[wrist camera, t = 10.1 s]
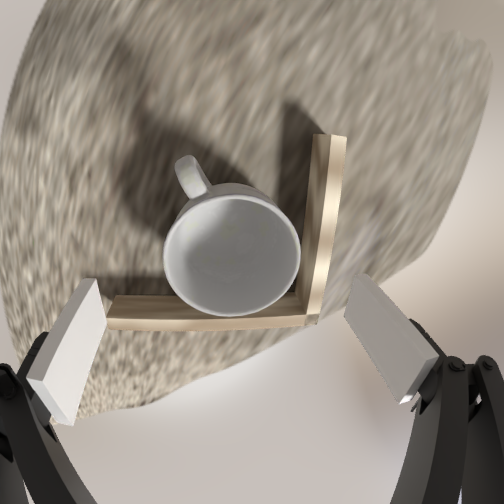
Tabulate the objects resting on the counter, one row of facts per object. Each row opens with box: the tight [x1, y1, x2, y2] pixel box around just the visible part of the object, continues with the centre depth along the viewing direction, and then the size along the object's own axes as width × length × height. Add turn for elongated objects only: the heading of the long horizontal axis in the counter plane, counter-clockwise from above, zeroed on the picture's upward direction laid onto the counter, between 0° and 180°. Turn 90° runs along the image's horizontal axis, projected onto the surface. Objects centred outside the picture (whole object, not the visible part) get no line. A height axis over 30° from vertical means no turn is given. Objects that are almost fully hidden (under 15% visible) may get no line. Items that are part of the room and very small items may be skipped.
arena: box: [106, 134, 347, 331], centre depth 26 cm, size 20×22×4 cm
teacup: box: [162, 155, 301, 317], centre depth 24 cm, size 14×11×8 cm
